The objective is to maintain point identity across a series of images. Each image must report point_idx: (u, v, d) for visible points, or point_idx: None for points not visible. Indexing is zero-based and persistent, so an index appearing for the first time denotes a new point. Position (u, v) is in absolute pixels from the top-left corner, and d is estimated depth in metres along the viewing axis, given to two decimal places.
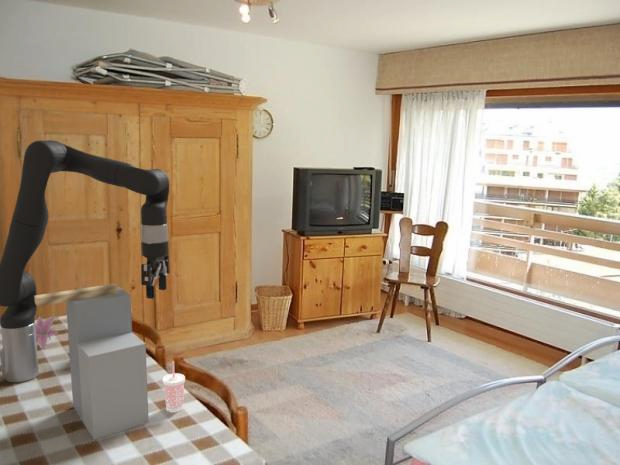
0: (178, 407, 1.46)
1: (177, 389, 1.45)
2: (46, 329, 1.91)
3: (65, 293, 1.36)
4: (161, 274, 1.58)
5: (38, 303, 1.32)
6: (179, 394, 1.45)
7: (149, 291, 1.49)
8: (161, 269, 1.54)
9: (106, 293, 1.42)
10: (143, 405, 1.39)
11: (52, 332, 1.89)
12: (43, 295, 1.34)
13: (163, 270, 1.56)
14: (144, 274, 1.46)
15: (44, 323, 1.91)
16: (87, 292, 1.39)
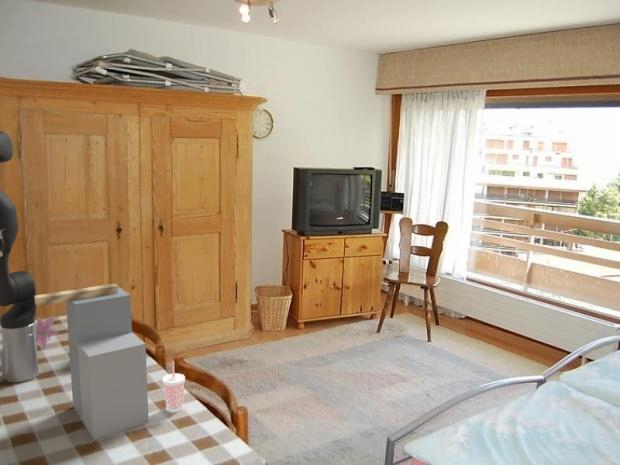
0: (178, 407, 1.46)
1: (177, 389, 1.45)
2: (46, 329, 1.90)
3: (65, 293, 1.36)
4: None
5: (38, 303, 1.32)
6: (179, 394, 1.45)
7: (2, 261, 1.33)
8: None
9: (106, 293, 1.42)
10: (143, 405, 1.39)
11: (51, 332, 1.89)
12: (43, 295, 1.34)
13: None
14: None
15: (44, 323, 1.91)
16: (87, 292, 1.39)
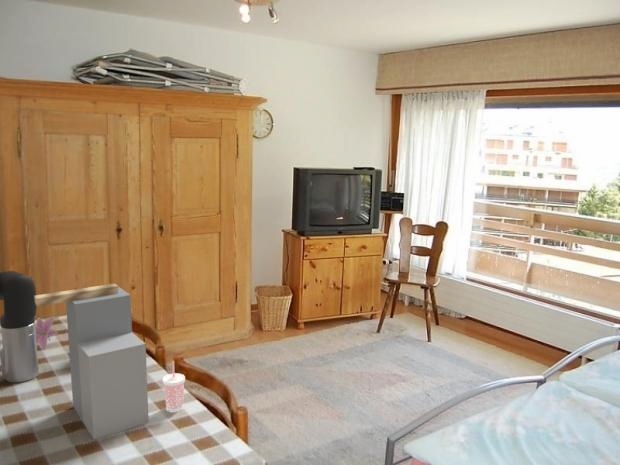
0: (178, 407, 1.46)
1: (177, 389, 1.45)
2: (46, 329, 1.90)
3: (65, 293, 1.36)
4: None
5: (38, 303, 1.32)
6: (179, 394, 1.45)
7: None
8: None
9: (106, 293, 1.42)
10: (143, 405, 1.39)
11: (52, 332, 1.89)
12: (43, 295, 1.34)
13: None
14: None
15: (44, 324, 1.90)
16: (87, 292, 1.39)
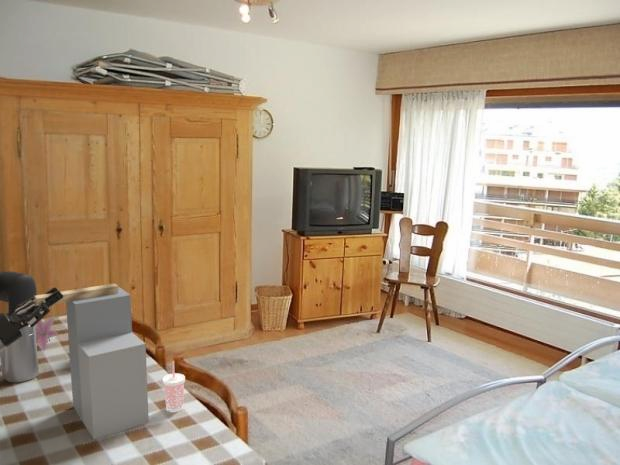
0: (178, 407, 1.46)
1: (177, 389, 1.45)
2: (46, 330, 1.89)
3: (65, 293, 1.36)
4: None
5: None
6: (179, 394, 1.45)
7: (53, 299, 1.33)
8: (26, 308, 1.32)
9: (106, 293, 1.42)
10: (143, 405, 1.39)
11: (52, 333, 1.88)
12: (43, 295, 1.34)
13: (29, 304, 1.33)
14: (39, 316, 1.29)
15: (44, 324, 1.90)
16: (87, 292, 1.39)
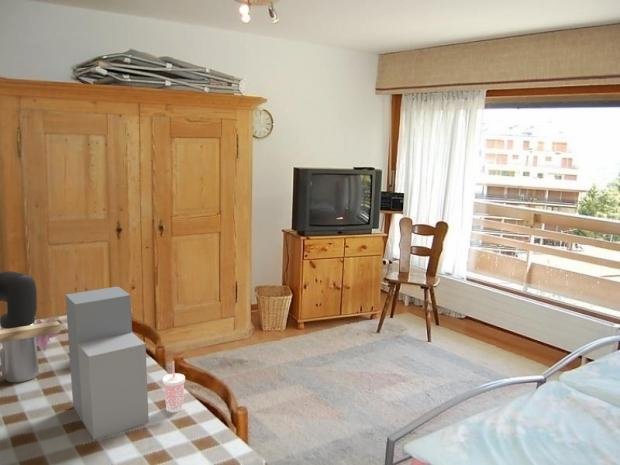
0: (178, 407, 1.46)
1: (177, 389, 1.45)
2: None
3: None
4: None
5: None
6: (179, 394, 1.45)
7: None
8: None
9: (46, 332, 1.27)
10: (143, 405, 1.39)
11: (52, 334, 1.88)
12: None
13: None
14: None
15: None
16: (23, 332, 1.24)
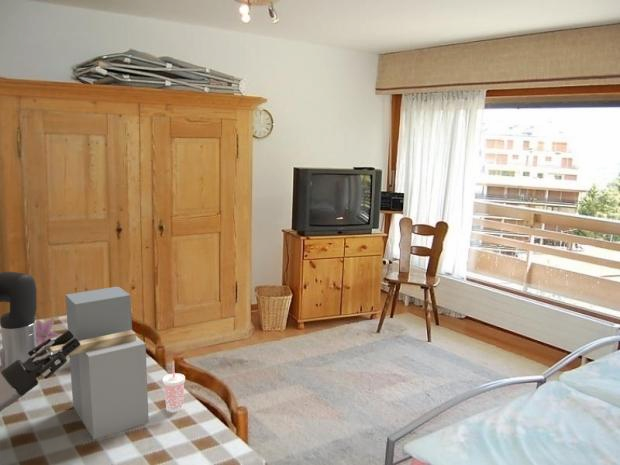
0: (178, 407, 1.46)
1: (177, 389, 1.45)
2: (46, 332, 1.88)
3: (81, 343, 1.31)
4: None
5: None
6: (179, 394, 1.45)
7: (70, 348, 1.26)
8: (42, 353, 1.27)
9: (123, 341, 1.36)
10: (143, 405, 1.39)
11: (52, 334, 1.87)
12: (59, 346, 1.29)
13: (44, 349, 1.28)
14: (54, 367, 1.22)
15: (43, 326, 1.88)
16: (104, 341, 1.33)
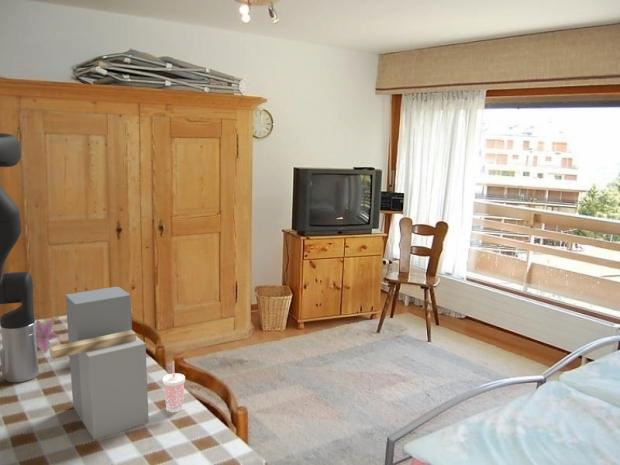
0: (178, 407, 1.46)
1: (177, 389, 1.45)
2: (46, 332, 1.87)
3: (81, 343, 1.31)
4: None
5: (54, 355, 1.26)
6: (179, 394, 1.45)
7: None
8: None
9: (123, 341, 1.36)
10: (143, 405, 1.39)
11: (52, 335, 1.86)
12: (59, 346, 1.29)
13: None
14: None
15: (43, 327, 1.88)
16: (104, 341, 1.33)
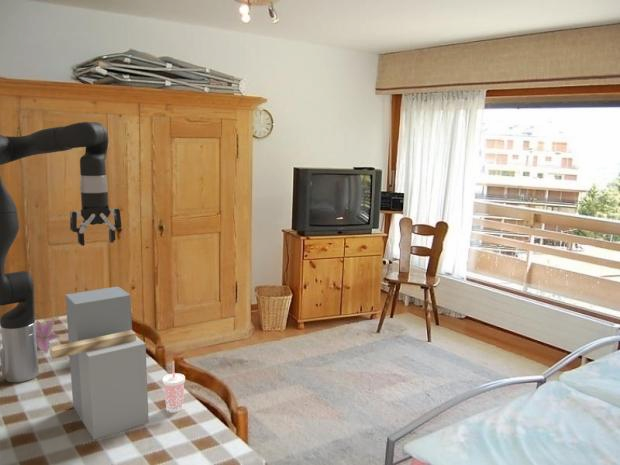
0: (178, 407, 1.46)
1: (177, 389, 1.45)
2: (46, 333, 1.87)
3: (81, 343, 1.31)
4: None
5: (54, 355, 1.26)
6: (179, 394, 1.45)
7: None
8: None
9: (123, 341, 1.36)
10: (143, 405, 1.39)
11: (53, 335, 1.86)
12: (59, 346, 1.29)
13: None
14: None
15: (43, 327, 1.87)
16: (104, 341, 1.33)
